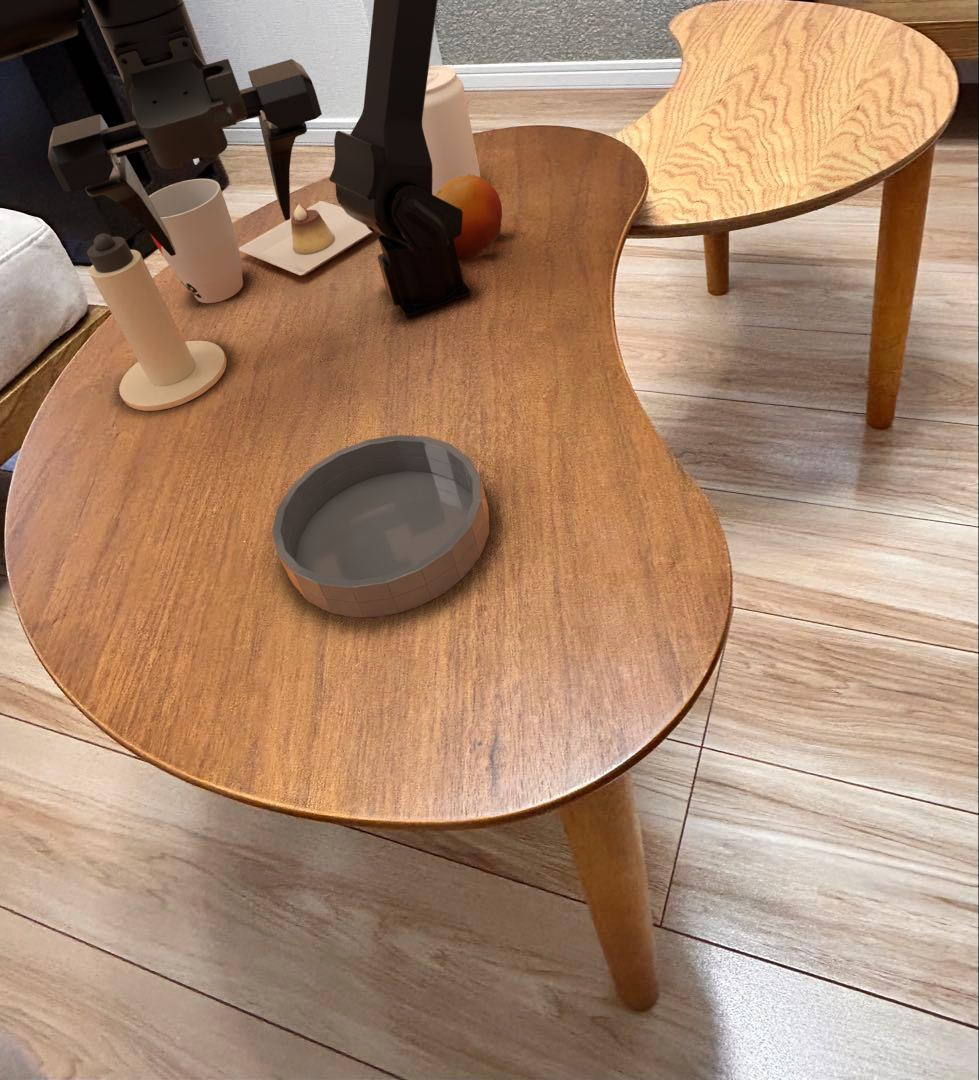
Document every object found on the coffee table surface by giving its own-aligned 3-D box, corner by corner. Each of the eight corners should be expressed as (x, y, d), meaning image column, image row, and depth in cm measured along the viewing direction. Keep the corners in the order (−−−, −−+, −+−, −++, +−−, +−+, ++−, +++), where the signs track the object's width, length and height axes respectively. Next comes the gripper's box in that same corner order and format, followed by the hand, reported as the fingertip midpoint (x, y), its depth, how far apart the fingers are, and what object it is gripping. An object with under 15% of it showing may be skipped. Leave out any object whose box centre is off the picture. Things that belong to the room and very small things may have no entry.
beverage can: (400, 210, 96) (370, 97, 87) (428, 176, 101) (402, 66, 92) (467, 209, 93) (442, 92, 85) (492, 175, 98) (471, 61, 89)
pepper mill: (203, 368, 79) (133, 230, 69) (160, 392, 78) (83, 254, 68) (184, 351, 82) (115, 216, 72) (142, 374, 80) (66, 239, 71)
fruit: (516, 251, 82) (460, 184, 78) (457, 293, 86) (401, 232, 83) (530, 210, 87) (478, 146, 83) (473, 252, 92) (422, 193, 88)
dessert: (323, 209, 100) (310, 168, 96) (390, 231, 93) (378, 187, 89) (240, 258, 95) (223, 217, 91) (304, 285, 88) (287, 241, 85)
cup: (189, 278, 94) (147, 189, 87) (261, 263, 93) (224, 171, 86) (176, 318, 88) (130, 225, 81) (253, 302, 87) (213, 207, 80)
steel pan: (454, 447, 66) (444, 411, 63) (520, 571, 56) (512, 534, 53) (276, 513, 64) (258, 478, 62) (311, 653, 54) (292, 618, 52)
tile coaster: (220, 333, 84) (218, 328, 84) (233, 386, 77) (230, 381, 77) (120, 368, 83) (117, 362, 83) (124, 424, 76) (120, 419, 76)
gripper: (-12, 85, 50) (115, 320, 61) (297, -1, 52) (366, 240, 63) (3, 40, 58) (113, 256, 69) (271, -33, 60) (336, 187, 71)
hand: (230, 235), depth 68 cm, fingers open, 9 cm apart
